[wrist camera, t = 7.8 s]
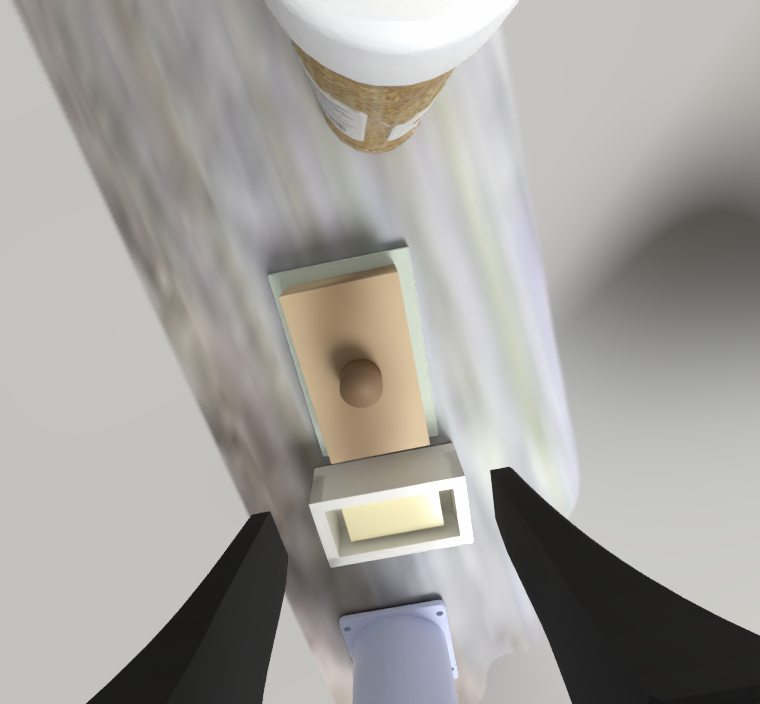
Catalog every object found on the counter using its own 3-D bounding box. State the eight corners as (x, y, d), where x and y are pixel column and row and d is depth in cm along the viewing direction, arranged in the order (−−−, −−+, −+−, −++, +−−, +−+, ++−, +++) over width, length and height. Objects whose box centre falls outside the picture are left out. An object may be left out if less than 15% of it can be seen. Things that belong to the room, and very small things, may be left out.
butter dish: (461, 504, 25) (473, 542, 22) (333, 527, 26) (330, 567, 23) (452, 442, 23) (464, 476, 21) (314, 467, 24) (308, 504, 21)
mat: (437, 431, 23) (438, 435, 23) (323, 452, 23) (322, 456, 23) (408, 245, 19) (409, 247, 18) (269, 274, 19) (267, 275, 19)
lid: (394, 263, 19) (400, 277, 16) (424, 424, 22) (433, 459, 19) (287, 286, 19) (273, 304, 16) (333, 441, 22) (329, 479, 20)
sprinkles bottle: (432, 142, 17) (618, 4, 5) (332, 164, 17) (256, 87, 5) (415, 15, 15) (642, -743, 3) (305, 41, 16) (76, -573, 3)
